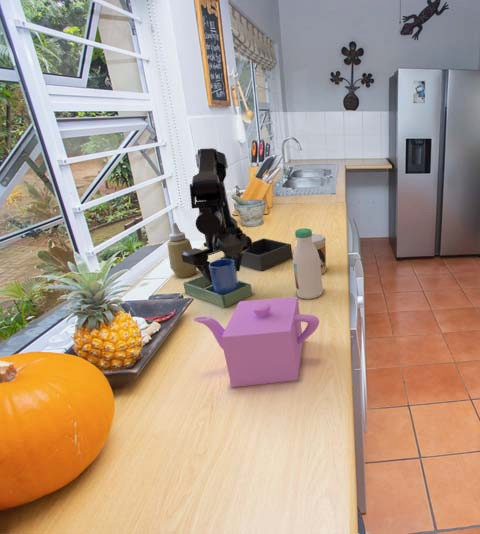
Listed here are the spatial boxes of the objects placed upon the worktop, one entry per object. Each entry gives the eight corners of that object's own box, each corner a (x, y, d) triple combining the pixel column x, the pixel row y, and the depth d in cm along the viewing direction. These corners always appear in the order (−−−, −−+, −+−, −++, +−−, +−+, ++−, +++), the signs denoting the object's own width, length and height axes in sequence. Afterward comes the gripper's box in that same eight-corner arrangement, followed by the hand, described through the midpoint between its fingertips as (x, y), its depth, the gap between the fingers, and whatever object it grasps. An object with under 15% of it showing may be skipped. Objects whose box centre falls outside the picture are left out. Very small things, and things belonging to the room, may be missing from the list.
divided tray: (185, 293, 118) (183, 282, 116) (213, 281, 125) (211, 272, 124) (224, 307, 109) (222, 296, 107) (252, 294, 116) (250, 284, 115)
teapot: (215, 348, 90) (203, 294, 85) (323, 337, 94) (318, 285, 89) (193, 391, 77) (177, 330, 71) (321, 377, 80) (315, 318, 75)
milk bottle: (327, 290, 119) (322, 227, 111) (314, 301, 112) (307, 235, 104) (305, 286, 121) (299, 225, 114) (291, 297, 114) (283, 232, 107)
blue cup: (211, 299, 114) (203, 264, 109) (230, 290, 119) (224, 257, 115) (225, 304, 110) (218, 269, 106) (245, 295, 116) (239, 261, 112)
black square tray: (234, 263, 140) (231, 249, 138) (265, 251, 152) (263, 238, 149) (261, 271, 133) (259, 256, 131) (292, 258, 145) (291, 244, 142)
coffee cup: (322, 277, 128) (318, 242, 123) (295, 275, 130) (291, 241, 125) (332, 266, 136) (329, 234, 132) (307, 265, 138) (304, 232, 133)
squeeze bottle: (204, 272, 133) (193, 221, 126) (183, 280, 126) (170, 227, 119) (188, 268, 136) (176, 218, 129) (167, 276, 129) (153, 225, 122)
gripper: (200, 238, 95) (213, 295, 101) (261, 220, 110) (268, 270, 116) (174, 231, 100) (187, 286, 106) (235, 215, 115) (244, 263, 121)
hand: (224, 276), depth 112 cm, fingers open, 9 cm apart
